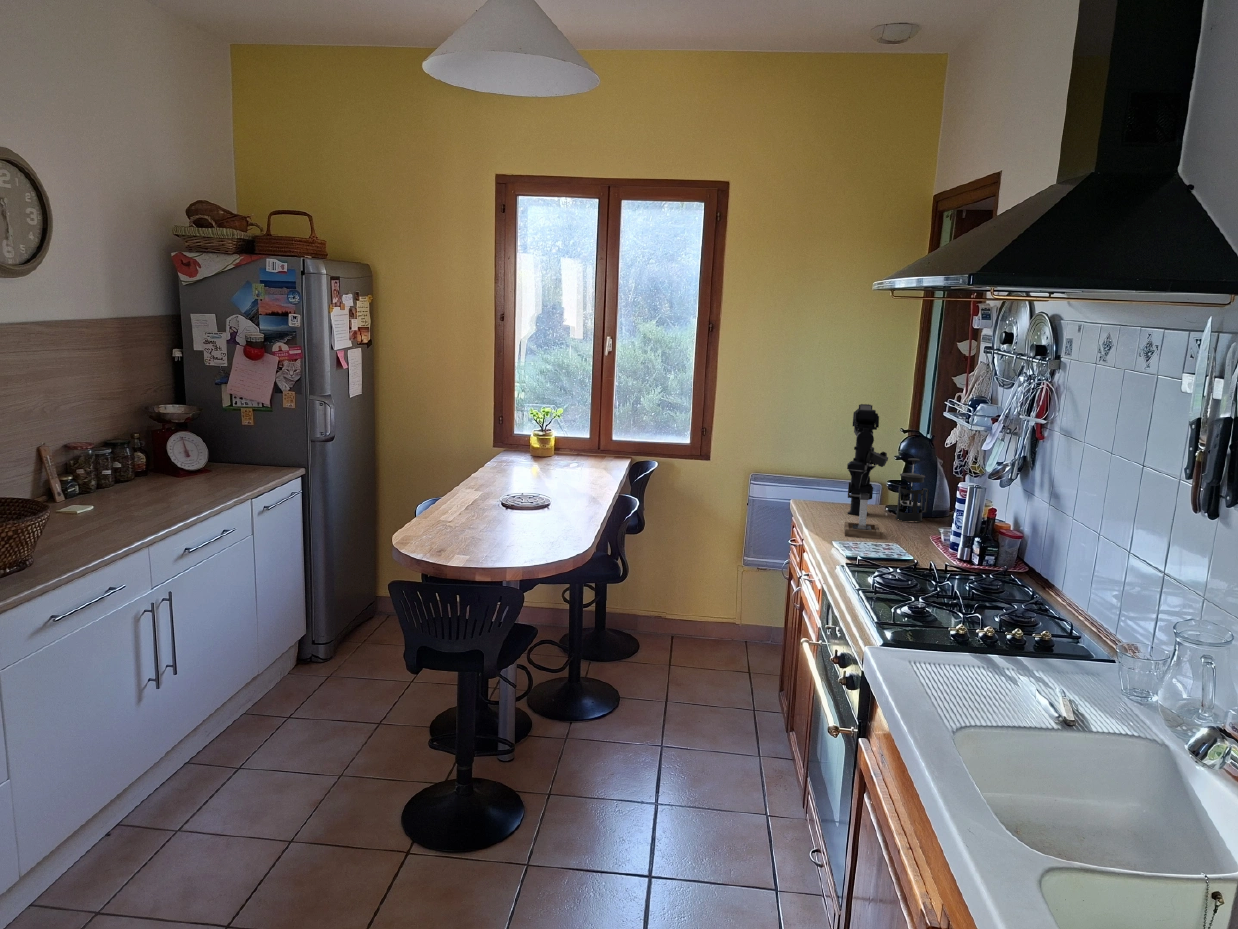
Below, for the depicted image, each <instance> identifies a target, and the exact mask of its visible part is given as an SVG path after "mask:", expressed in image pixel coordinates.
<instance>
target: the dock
mask: <svg viewBox="0 0 1238 929" xmlns="http://www.w3.org/2000/svg"><path fill="white" fill-rule="evenodd" d="M853 525H859V522H849V521H844V526H843V527H844V528H843V530H844V532H843V533H844V537H849V538H850V537H853V538H854V537H855V538H862V539H863V538H866V539H874V540H875V539H876V540H877V539H878V540H880V537H881V531H880V527H879V524H875V523H874V524H873V523H866V526H871V530H859V529H852V527H853Z"/></svg>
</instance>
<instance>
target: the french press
mask: <svg viewBox="0 0 1238 929" xmlns="http://www.w3.org/2000/svg"><path fill="white" fill-rule="evenodd" d="M907 460H908V461H912V470H911V471H912V472H902V473H899V476H900V478H901V480H905V481H906V482H908V483H911V484H910V486H911V490H907V489H906V487H907V486H908V485H901V486H898V495H897V496H898V497H897V509H896V516H895V520H897V519H899V520H902V521H901V522H903V521H922V522H923V519H922V518H923V514H926V513H927V512H928V506H929V504H928V503H929V496H930V495H929V494H930V493H929V492H930V490H929V489H928V488H923V487H921V488H922V490H912V486H913V483H914V484H922V483H924V482H925V478H926V475H924V474H921V475H920V474H919V473H915V472H914V470H915V465H916V462H919V461H921V460H920V459H919V458H913V457H912V458H908V459H907ZM926 490H927V492H926ZM902 493H903V497H902ZM907 493H908V494H907ZM924 493H925V494H924ZM909 494H910V495H909ZM912 495H913V498H912ZM919 495H920V500H919ZM924 495H925V498H926V502H925V501H924ZM901 497H902V500H901ZM909 497H910V498H909ZM912 501H913V502H912ZM919 501H920V503H918V502H919ZM923 503H924V510H923ZM901 506H902V508H901ZM908 507H911V509H912V513H904V512H905V511H906V509H908ZM918 507H919V513H917V510H918ZM899 520H898V521H899Z"/></svg>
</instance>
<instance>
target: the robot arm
mask: <svg viewBox="0 0 1238 929" xmlns="http://www.w3.org/2000/svg"><path fill="white" fill-rule="evenodd" d="M852 418H853V419H852V427H853V433H854V435H855V436H856V437H855V438H856V439H855V446H854V447H853V450H854V451H855V453H854V457H853V460H851V461H849V462H848V463H847V468H846V469H847V471H848V472H849V475H850V481H848V487H847V488H848V489H847V498H848V499H850V506H849V507H850V510H849V511H846V512H847V513H848V514H849V515H854V514H855V516H859V513H860V493H867V494H869V500H868V501H870V500H872V499H873V492H874V487H873V484H872V483H871V476H870V474H871V471H872V470H874V469H875V468H876V467H877V465H878V467H881V468H883V467H885V466H886V464H887V462H888V461H889V456H888V453H887V452H886V451H881V452H880V453H879V452H876V451H875V447H874V446H873V444H874V441H875V437H874V431H875V430H878V428H879V427H880V426H879V425H880V416H879V413H878V412H877V411H876V409H873V404H869V403H868V404H867V403H865V404H863V403H861V404H858V408H857V409H856V410H855V411H854V412H853V415H852ZM867 513H868V514H869V511H867Z"/></svg>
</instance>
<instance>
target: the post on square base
mask: <svg viewBox="0 0 1238 929" xmlns="http://www.w3.org/2000/svg"><path fill="white" fill-rule="evenodd" d="M869 501H870V500H869V494H867V493H860V513H859V515H858V523H859V525H853V527H852V529H859V530H871V526H866V524H867V515H868V514H867V512H868V502H869Z"/></svg>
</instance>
